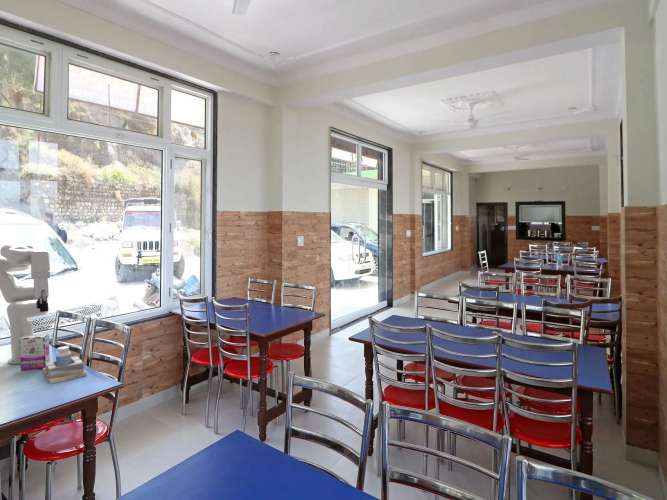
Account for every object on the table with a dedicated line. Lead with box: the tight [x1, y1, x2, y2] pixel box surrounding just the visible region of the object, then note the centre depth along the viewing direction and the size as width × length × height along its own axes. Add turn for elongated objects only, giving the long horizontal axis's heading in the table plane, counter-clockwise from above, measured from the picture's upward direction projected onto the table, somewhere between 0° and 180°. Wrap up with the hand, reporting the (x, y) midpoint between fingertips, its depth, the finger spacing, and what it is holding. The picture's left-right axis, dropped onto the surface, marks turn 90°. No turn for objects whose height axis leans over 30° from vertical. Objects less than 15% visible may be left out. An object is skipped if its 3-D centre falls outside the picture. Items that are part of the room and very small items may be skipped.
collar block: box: [42, 355, 87, 385], centre depth 190 cm, size 20×14×6 cm
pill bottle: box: [55, 345, 72, 367], centre depth 190 cm, size 6×6×11 cm
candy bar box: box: [19, 334, 51, 371], centre depth 196 cm, size 11×5×16 cm, turn 102°
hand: (42, 309), depth 193 cm, fingers open, 9 cm apart
